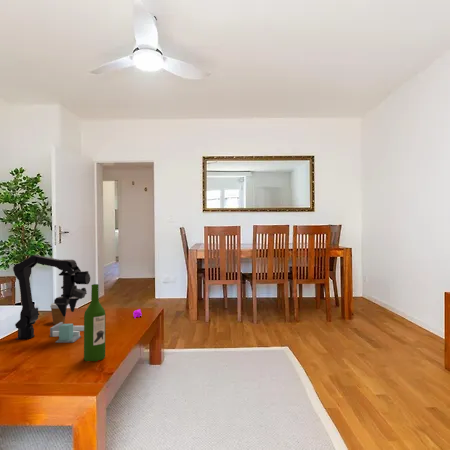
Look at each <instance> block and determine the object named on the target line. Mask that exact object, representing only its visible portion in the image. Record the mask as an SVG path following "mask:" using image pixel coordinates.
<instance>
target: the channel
mask: <svg viewBox="0 0 450 450" xmlns="http://www.w3.org/2000/svg"><path fill="white" fill-rule="evenodd" d="M62 324H64V323H63V322H60V323H58V324H56V325H55V324H54V325H53V326H52V327H50V328H49V330H50V331H49V337H56V338H57V337H58V338H59V326H61V325H62ZM81 332H84V325H73V336H81V334H80V333H81Z"/></svg>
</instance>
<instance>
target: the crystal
mask: <svg viewBox="0 0 450 450" xmlns="http://www.w3.org/2000/svg"><path fill="white" fill-rule="evenodd" d="M132 314H133V318H134V319H137V318H136V317H138V318H140V316H141V317H142V316H143V314H142V310H141V308H138V309H136V310H134V311H133V312H132Z"/></svg>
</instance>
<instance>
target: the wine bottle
mask: <svg viewBox="0 0 450 450" xmlns="http://www.w3.org/2000/svg"><path fill="white" fill-rule="evenodd" d="M99 286H100V284H98V283H94V284H91V292H90V293H91V297H90V299H91V300H90V303H89V305H88V307H87V308H86V310H85V311H84V315H83V316H84V317H83V326H84V331H83V360H84V361H85V362H87V361H95V362H99V361H98V360H100V361H102V360H104V359H105V358H106V310H105V309H104V307H103V306H102V304H101V303H100V300H99V299H100V297H99V295H100V292H99Z"/></svg>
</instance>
